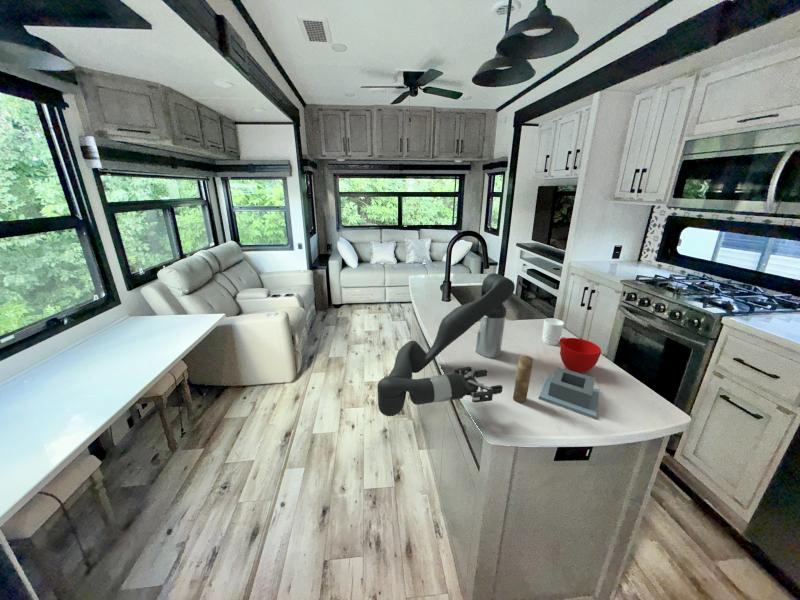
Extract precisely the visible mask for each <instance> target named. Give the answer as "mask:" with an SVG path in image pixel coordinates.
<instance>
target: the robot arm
mask: <svg viewBox="0 0 800 600" xmlns="http://www.w3.org/2000/svg"><path fill="white" fill-rule="evenodd" d="M515 289H516V286H515V283H514V281H513V280H511V279H510V278H508V277H506V276H503V275H502V274H499V273H495V272H494V273H489V274H488V275H486V276H485V278H484V279H483V281H482V284H481V291H480V293H481V294H480V297H479V298H478V299H476V300H474V301H470V302H467V303H465V304H462V305H459V306H458V307H456V308H454V309H453V310H451V311H450V312H449V313H448V314H447V315H445V317H443V318H442V320H441V321H440V324H439V326H438V330H437V333H436V337H435V340H434V342H433V344H432V346H431V347H430V348H429V350H428V351H427V352H426V351H425V350H424V349H423V348H422V347H421V345H420V344H419V343H418V342H417V340H416V341H415V340H409V341H408V342H406V343H405V344H404V345H402V346H401V347H400V348H399V350H398V352H397V354H396V357H395V361H394V364H393V368H392V369H391V371H390V372H389V374H388V375H387V376H385V377H382V378H381V379H380V380H379V381H378V382H377V385H376V386H377V407H378V410H379V412H380V413H381V414H382V415H384V416H385V417H386V416H387V417H394V416H397V415H398V414H399V413H400V412H401V411H403V408H404V406H405V402H406V397H407V393H408V394H409V398H410V401H411V403H412V404H413V405H420V406H421V405H425V404H430V403H431V404H432V403H443V402H444V403H445V402H450V401H455V400H461V399H463V398H464V397H465V396H469V397H471V398H472V403H484V402H491V401H493V396H494V395H497V394H502V392H503V389H504V387H503V385H501V384H499V385H498V384H497V385H492V386H487V385H484V384H485V383H484V384H483V383H480V382H478V381H477V380H476V379H479V378H484V377H488V370H487V369H477V370H476V369H472V367H471V366H465V367H459V368H455V369H454V371H453V372H452V373H445V374H438V375H434V376H430V377H423V378H413V373H414V374H417V373H419V372H421V371H422V370H424V369H425V368H426V367H427V366H428V365H429V364H430V363H431V362H432V361H433V360H434V359H435V358H436V357H437V356H438V355H440V353H441V352H443V351H444V350H445V349H446V348H447V347H449V346H450V345H451V344H452V343H453V342H455V341H456V340H457V339H459V338H460V337H461V336H463V335H464V334H465V332H467V331H468V330H469V329H470V328H472V326H474V325H475V324H476V323H478V322H479V321H480V325H479V329H478V331H477V336H476V344H475V353H478V354H479V355H481V356H483V357H486V358H497V357H499V356H501V352H502V344H503V339H504V338H503V336H504V329H505V322H506V316H507V308H506V307H505V305H504V304H503V303H505V302H506V301H508V300H509V299H510V298H511V297H512V296H513V293H514V292H515ZM478 390H479V391H478ZM484 390H485V391H484Z"/></svg>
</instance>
